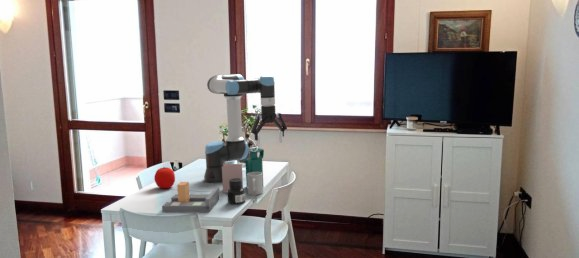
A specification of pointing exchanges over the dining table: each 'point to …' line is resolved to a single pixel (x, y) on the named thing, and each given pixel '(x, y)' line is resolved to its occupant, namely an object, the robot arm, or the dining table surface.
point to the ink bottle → (236, 191)
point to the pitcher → (254, 162)
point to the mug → (254, 183)
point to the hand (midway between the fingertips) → (269, 144)
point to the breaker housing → (193, 203)
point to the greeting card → (231, 174)
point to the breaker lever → (183, 192)
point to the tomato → (164, 177)
